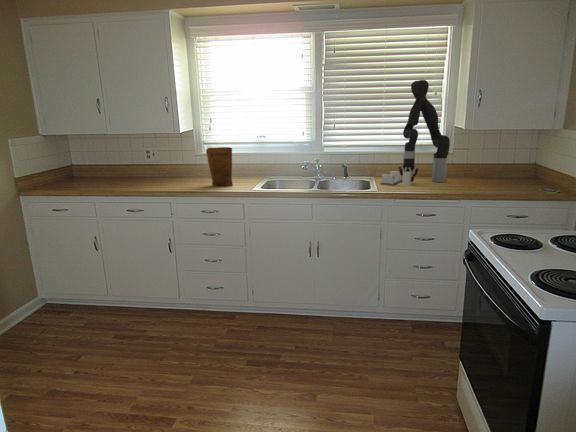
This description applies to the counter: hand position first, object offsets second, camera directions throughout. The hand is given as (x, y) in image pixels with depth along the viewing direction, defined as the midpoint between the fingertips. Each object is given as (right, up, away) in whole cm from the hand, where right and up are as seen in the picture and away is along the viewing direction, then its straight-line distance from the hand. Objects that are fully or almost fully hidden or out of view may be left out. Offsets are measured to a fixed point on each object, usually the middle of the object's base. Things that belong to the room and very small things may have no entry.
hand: (407, 181), depth 304 cm
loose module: (0, -2, +1) cm, 2 cm away
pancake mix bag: (-134, -3, +7) cm, 134 cm away
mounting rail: (-10, -1, +6) cm, 12 cm away
